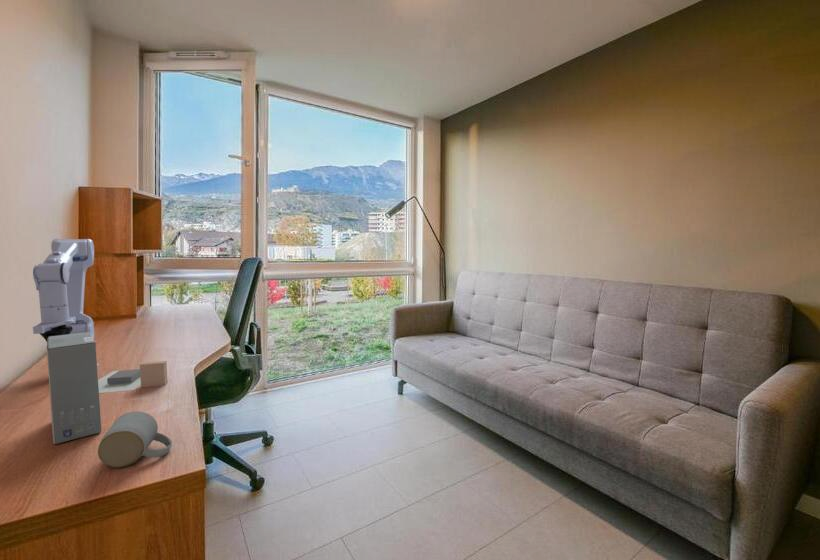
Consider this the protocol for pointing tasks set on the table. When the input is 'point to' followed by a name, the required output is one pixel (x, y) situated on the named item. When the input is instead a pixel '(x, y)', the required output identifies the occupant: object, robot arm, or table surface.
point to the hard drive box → (73, 386)
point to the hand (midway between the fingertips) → (58, 353)
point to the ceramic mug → (131, 440)
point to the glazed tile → (124, 377)
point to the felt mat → (116, 385)
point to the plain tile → (153, 373)
